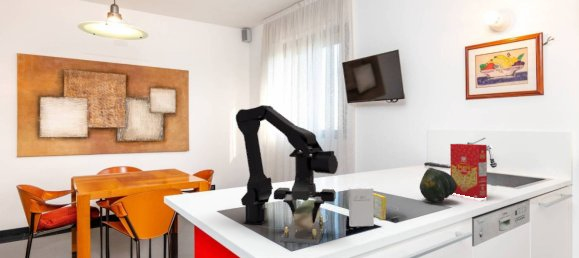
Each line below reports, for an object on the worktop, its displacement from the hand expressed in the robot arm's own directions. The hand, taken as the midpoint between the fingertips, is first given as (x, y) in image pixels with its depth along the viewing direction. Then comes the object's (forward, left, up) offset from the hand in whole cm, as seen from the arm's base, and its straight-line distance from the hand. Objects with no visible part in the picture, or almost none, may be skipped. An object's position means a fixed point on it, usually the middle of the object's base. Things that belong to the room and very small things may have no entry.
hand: (304, 222), depth 101 cm
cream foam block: (+1, +3, -1) cm, 3 cm away
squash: (+49, +54, -4) cm, 73 cm away
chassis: (0, 0, -4) cm, 4 cm away
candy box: (+21, +28, -4) cm, 35 cm away
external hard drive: (+17, +12, -4) cm, 21 cm away
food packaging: (+65, +68, -4) cm, 94 cm away
